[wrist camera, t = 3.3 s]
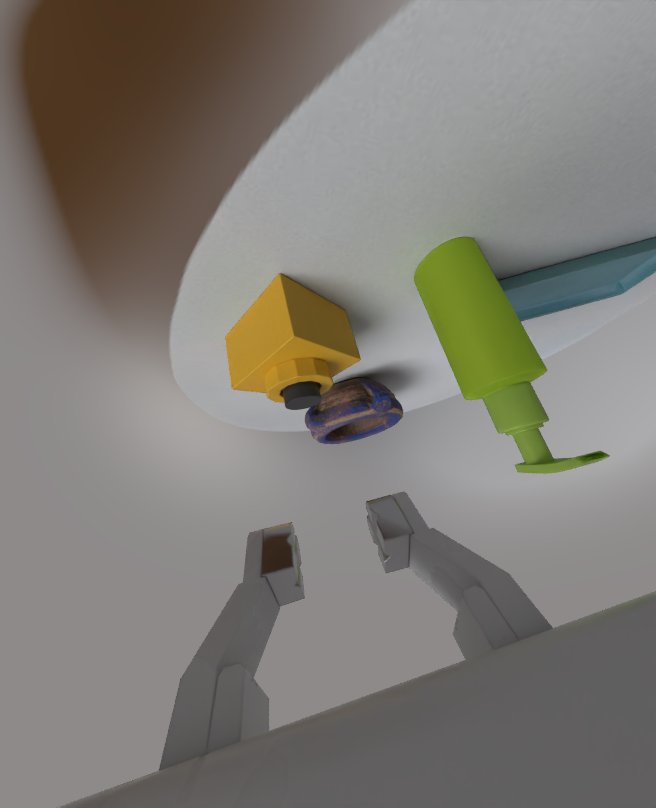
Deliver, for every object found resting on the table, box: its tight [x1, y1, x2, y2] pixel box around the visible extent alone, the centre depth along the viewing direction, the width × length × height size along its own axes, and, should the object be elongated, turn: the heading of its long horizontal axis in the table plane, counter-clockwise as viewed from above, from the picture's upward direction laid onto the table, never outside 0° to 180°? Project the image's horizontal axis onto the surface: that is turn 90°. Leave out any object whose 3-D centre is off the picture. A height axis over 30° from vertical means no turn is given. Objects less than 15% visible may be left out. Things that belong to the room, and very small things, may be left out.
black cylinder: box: [282, 381, 322, 410], centre depth 24 cm, size 4×4×2 cm
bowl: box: [305, 378, 403, 444], centre depth 48 cm, size 18×18×10 cm
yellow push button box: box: [225, 274, 361, 403], centre depth 26 cm, size 10×9×8 cm
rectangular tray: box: [498, 238, 656, 321], centre depth 31 cm, size 26×9×2 cm, turn 95°
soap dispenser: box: [414, 237, 609, 473], centre depth 21 cm, size 6×7×20 cm
